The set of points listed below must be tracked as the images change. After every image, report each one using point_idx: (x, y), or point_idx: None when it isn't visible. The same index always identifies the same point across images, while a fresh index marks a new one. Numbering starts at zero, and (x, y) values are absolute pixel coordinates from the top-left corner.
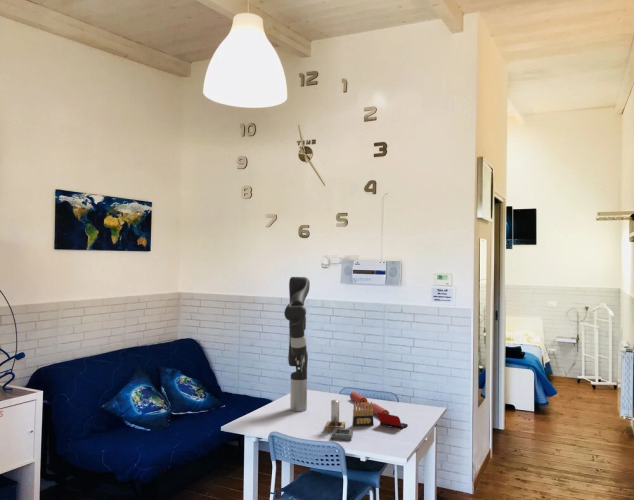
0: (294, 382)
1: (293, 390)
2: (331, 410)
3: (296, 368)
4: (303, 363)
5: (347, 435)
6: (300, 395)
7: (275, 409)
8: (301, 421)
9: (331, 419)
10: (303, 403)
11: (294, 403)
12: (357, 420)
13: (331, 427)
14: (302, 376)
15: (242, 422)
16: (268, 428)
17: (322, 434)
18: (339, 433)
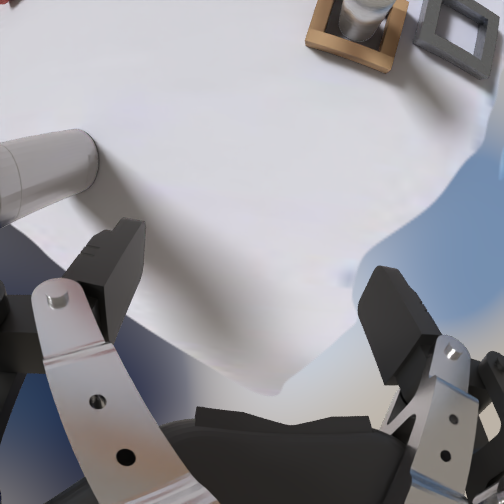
0: (9, 212)
1: (36, 204)
2: (376, 15)
3: (483, 443)
4: (84, 305)
5: (497, 27)
6: (53, 165)
7: (82, 244)
8: (227, 153)
9: (369, 29)
10: (73, 145)
11: (76, 184)
12: None
13: (397, 44)
14: (387, 273)
15: (230, 362)
16: (311, 296)
17: (422, 94)
18: (483, 46)
